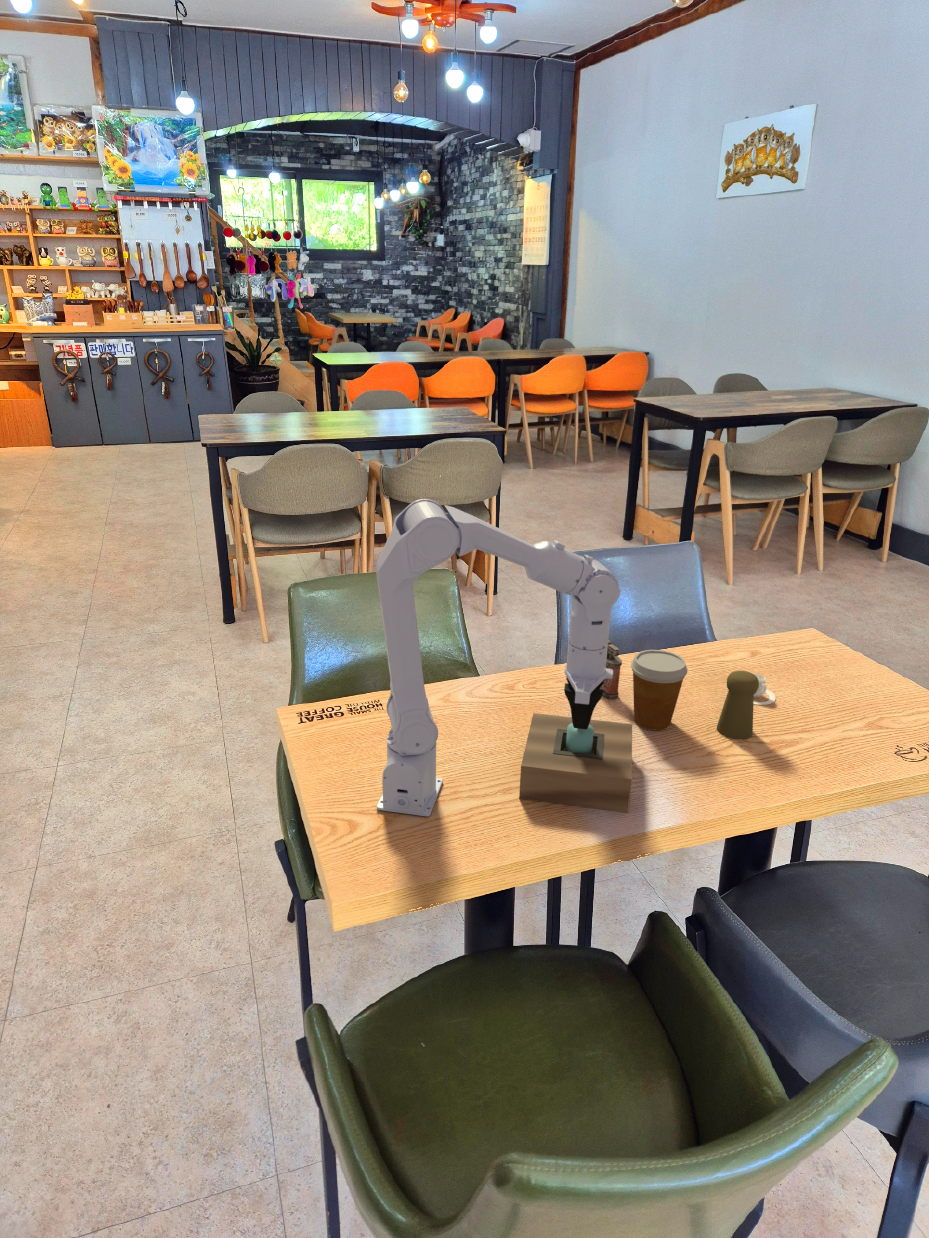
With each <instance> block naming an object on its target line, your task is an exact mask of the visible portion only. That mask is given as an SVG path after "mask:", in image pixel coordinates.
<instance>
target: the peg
mask: <svg viewBox="0 0 929 1238" xmlns="http://www.w3.org/2000/svg"><path fill="white" fill-rule="evenodd" d="M593 733H594V729H593V727H592V726H591V725H589V726H588V728H587V729H578V728H574V727H573V723H571V724H569V725H568V727H567V739H566V751H569V752H577V753H585V754H592V743H593Z"/></svg>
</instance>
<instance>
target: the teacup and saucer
mask: <svg viewBox="0 0 929 1238" xmlns="http://www.w3.org/2000/svg"><path fill="white" fill-rule="evenodd" d="M753 674H754V675H755V676H756V677H757V678H758V681H759V687H758V690H757V692H756V693H755V694H754V698H755V699H758V698H760V697H762V696H763V695H764V694H765V693H766V694H767V696H769V699H768V700H766V701H760V702H759V701H754V702H753V706H767V705H771V704H773V703H774V702H776V699H777V697H776V695H775V694H774V692H772V690H769V689H767V685H766V681H767V678H766V677H765V676H764V675H761V674H758V673H753Z"/></svg>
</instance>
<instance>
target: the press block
mask: <svg viewBox="0 0 929 1238" xmlns="http://www.w3.org/2000/svg"><path fill="white" fill-rule="evenodd" d="M531 717H532V718H531V721H530V726H529V729H528V734H527V739H526V743H525V747H524V751H523V756H522V760H521V764H520V778H519V794H518V795H519V797H518V799H519V800H525V801H526V800H527V801H534V802H542V803H548V804H549V803H551V804H558V805H567V806H572V807H580V808H582V807H583V808H588V809H593V810H594V809H595V810H604V811H611V812H617V813H618V812H620V813H626V814H627V813H629V807H630V797H631V787H632V781H633V780H632V779H633V776H632V774H633V724H632V723H626V722H625V723H624V722H617V721H608V720H601V719H600V720H597V719H591V720H590V724H589V725H591V726H592V727H593V729H594V733H593V743H592V750H594V754H585V753H577V752H569V751H563V749H564V747H566V739H567V727H568V725H569V724H571V723H572V716H563V715H553V714H545V713H537V712H533V713H532V716H531Z"/></svg>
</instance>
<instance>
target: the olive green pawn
mask: <svg viewBox="0 0 929 1238" xmlns="http://www.w3.org/2000/svg"><path fill="white" fill-rule="evenodd" d="M754 674H755V673H753V672H750V671H747V670H734V671H732V672H731V673H729V674H728V676H727V679H726V688H727V694H726V697H725V700H724V703H723V706H722V710H721V713H720V715H719V719H718V720H717V721H718V722H717V725H716V731H717V733H719V734H720V735H721V736H723V737H724V738H728V739H730V740H736V741H743V740H748V739H751V738H752V737H753V734H754V704H753V702H755V701H754V700H755V699H754V694H755V693H756V692H757V690H758V687H759V681H758V678H757V677H756V676H755V675H754Z"/></svg>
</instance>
